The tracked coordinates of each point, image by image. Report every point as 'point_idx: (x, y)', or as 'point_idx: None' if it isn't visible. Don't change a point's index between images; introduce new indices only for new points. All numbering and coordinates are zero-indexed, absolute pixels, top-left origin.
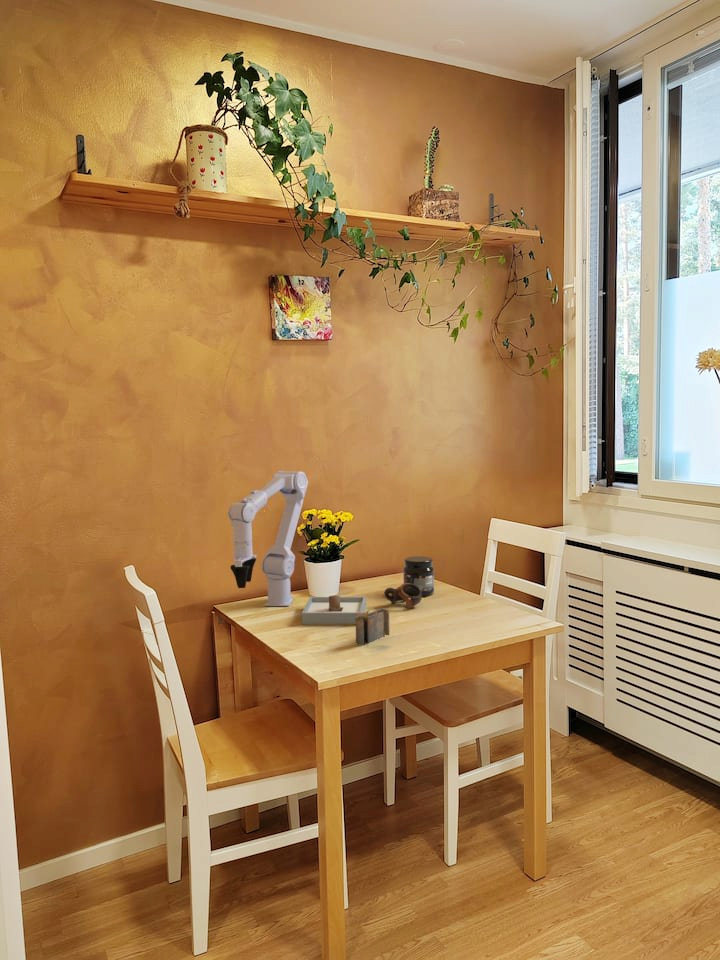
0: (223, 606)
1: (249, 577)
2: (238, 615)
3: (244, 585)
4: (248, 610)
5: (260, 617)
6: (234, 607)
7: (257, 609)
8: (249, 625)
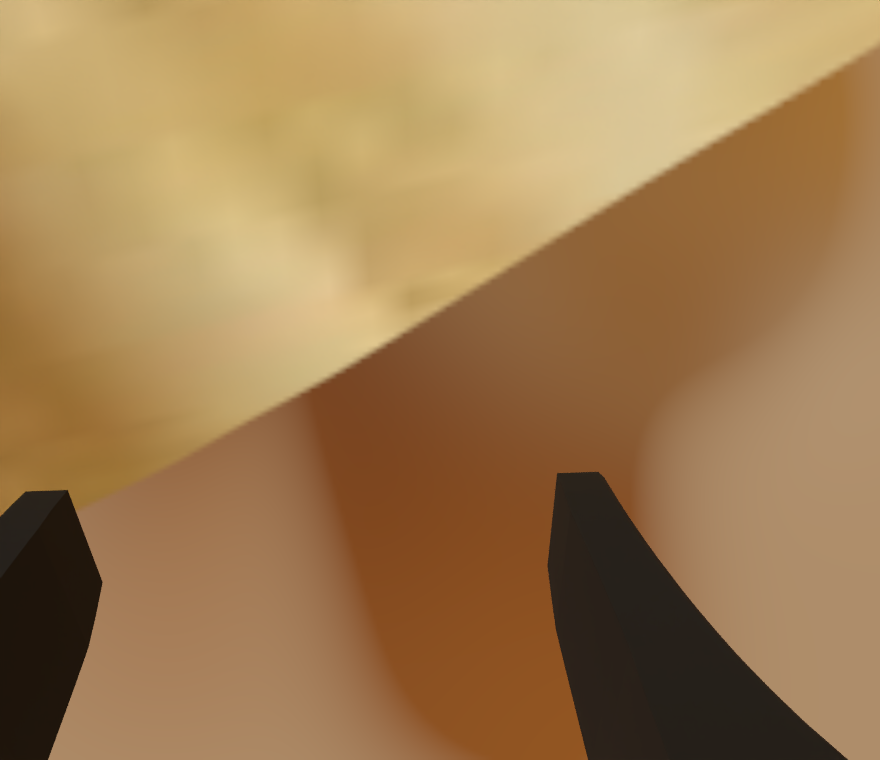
0: None
1: (37, 574)
2: (337, 312)
3: (618, 513)
4: (109, 252)
5: (410, 12)
6: (33, 423)
7: (32, 148)
8: (769, 84)
